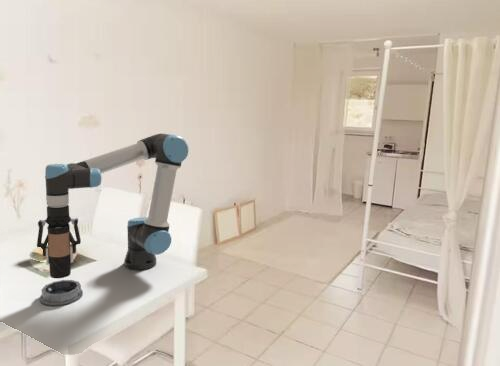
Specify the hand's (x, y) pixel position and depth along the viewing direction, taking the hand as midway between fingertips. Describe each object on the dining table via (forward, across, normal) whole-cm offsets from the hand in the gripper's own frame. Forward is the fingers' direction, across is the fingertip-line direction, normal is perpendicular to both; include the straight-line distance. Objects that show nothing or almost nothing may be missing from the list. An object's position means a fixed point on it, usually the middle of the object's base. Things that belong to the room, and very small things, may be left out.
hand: (60, 262), depth 146 cm
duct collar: (+14, 0, 0) cm, 14 cm away
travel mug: (+5, 0, 0) cm, 5 cm away
